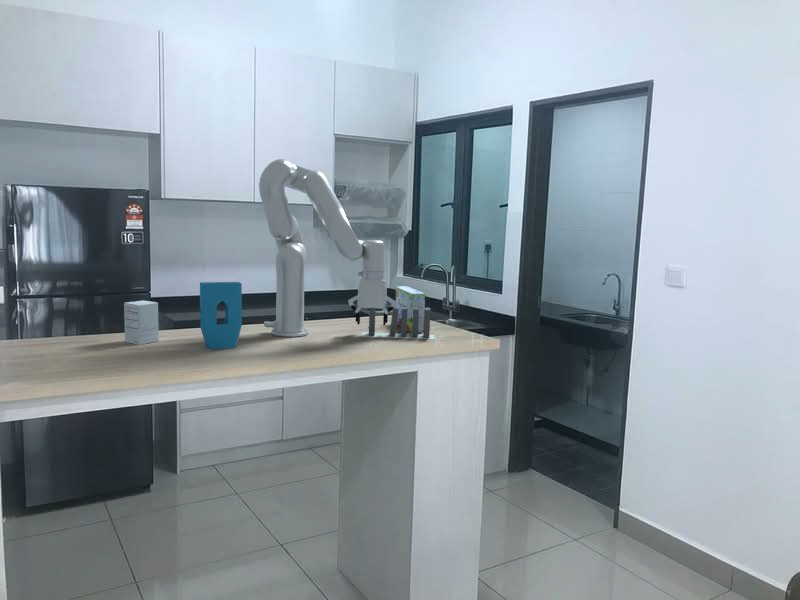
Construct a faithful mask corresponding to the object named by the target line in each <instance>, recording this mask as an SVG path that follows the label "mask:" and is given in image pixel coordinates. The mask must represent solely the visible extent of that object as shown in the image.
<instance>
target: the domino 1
mask: <svg viewBox="0 0 800 600" xmlns="http://www.w3.org/2000/svg"><path fill="white" fill-rule="evenodd" d="M368 322H369V323H368V327H367V329H368V332H369V336H374V335H375V333H376V308H369V312H368Z"/></svg>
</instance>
